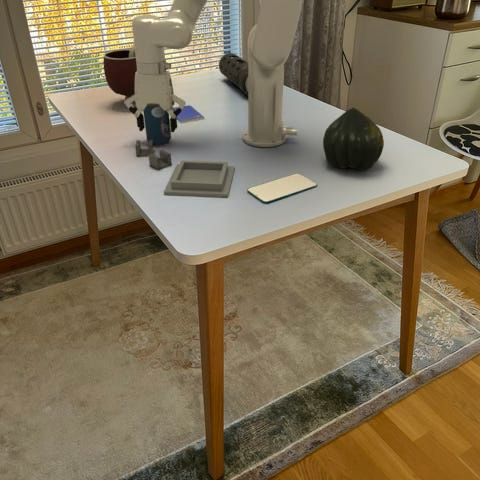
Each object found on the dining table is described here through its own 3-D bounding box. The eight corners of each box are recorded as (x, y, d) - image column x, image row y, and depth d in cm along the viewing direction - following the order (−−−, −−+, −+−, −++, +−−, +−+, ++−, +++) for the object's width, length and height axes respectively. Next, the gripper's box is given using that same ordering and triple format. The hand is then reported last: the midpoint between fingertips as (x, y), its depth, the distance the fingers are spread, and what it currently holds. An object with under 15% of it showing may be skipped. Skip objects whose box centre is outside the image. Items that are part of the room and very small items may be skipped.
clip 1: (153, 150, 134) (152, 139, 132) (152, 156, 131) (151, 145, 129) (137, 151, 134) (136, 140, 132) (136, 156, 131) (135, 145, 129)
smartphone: (297, 176, 122) (245, 192, 114) (297, 172, 121) (245, 188, 114) (318, 188, 116) (265, 206, 109) (318, 184, 116) (265, 202, 108)
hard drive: (204, 116, 154) (190, 104, 163) (180, 120, 151) (167, 108, 160) (204, 121, 155) (190, 109, 164) (180, 125, 152) (167, 113, 161)
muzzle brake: (241, 78, 193) (240, 51, 187) (269, 98, 171) (269, 68, 166) (218, 80, 190) (217, 53, 184) (244, 102, 169) (244, 71, 163)
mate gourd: (132, 115, 157) (123, 51, 146) (101, 108, 163) (90, 46, 152) (162, 102, 168) (156, 41, 157) (132, 96, 174) (124, 37, 163)
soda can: (170, 147, 136) (166, 105, 129) (145, 147, 136) (140, 105, 129) (172, 137, 142) (169, 97, 135) (149, 137, 142) (144, 97, 135)
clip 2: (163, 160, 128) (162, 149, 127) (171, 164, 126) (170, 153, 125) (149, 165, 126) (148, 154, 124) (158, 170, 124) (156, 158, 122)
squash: (365, 165, 113) (385, 106, 114) (307, 154, 120) (327, 98, 121) (376, 184, 125) (394, 130, 126) (323, 172, 132) (341, 122, 133)
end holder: (234, 169, 124) (234, 159, 123) (227, 197, 112) (227, 187, 110) (177, 166, 125) (176, 157, 124) (164, 194, 113) (163, 184, 112)
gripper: (186, 64, 129) (190, 126, 139) (123, 62, 131) (131, 124, 141) (181, 71, 123) (185, 136, 133) (114, 70, 125) (124, 134, 134)
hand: (157, 129), depth 137 cm, fingers open, 8 cm apart
